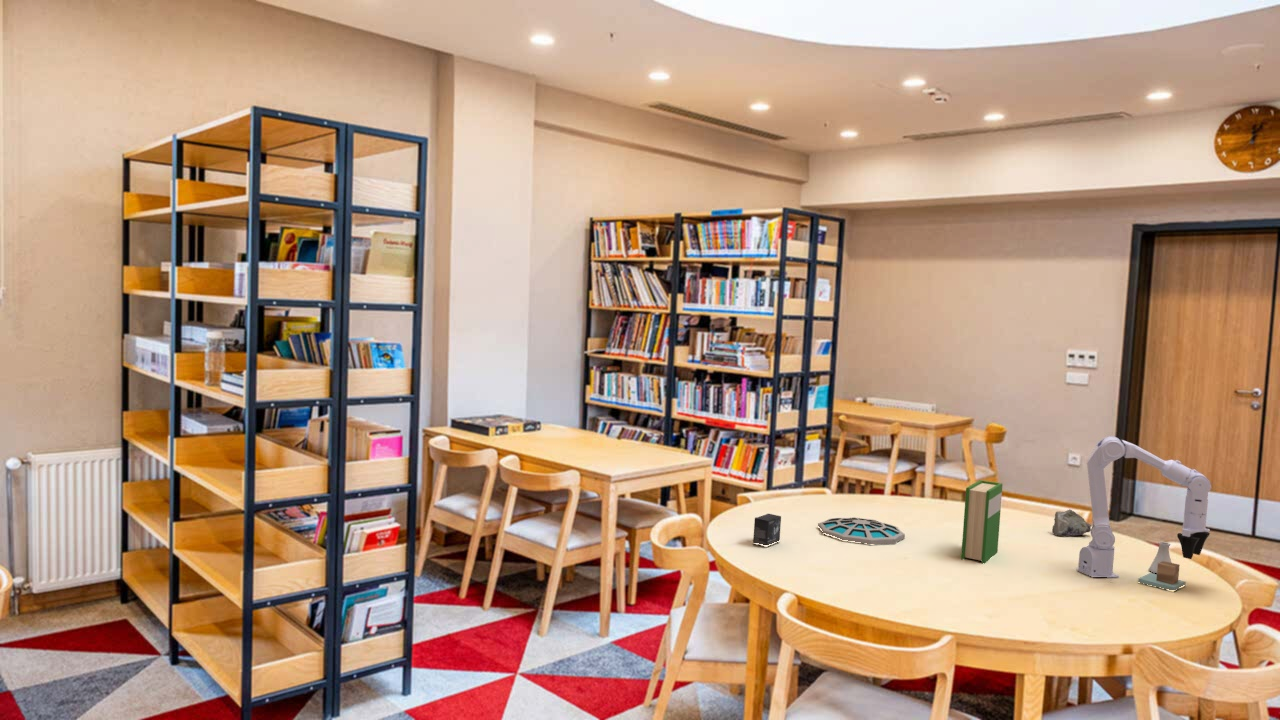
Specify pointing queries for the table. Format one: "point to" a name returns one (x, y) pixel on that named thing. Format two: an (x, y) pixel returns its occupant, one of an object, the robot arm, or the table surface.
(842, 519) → the grey teal dome window
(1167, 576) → the walnut block
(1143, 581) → the base board
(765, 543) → the box
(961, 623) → the table surface
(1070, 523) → the mineral rock
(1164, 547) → the flask
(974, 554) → the hardback book
